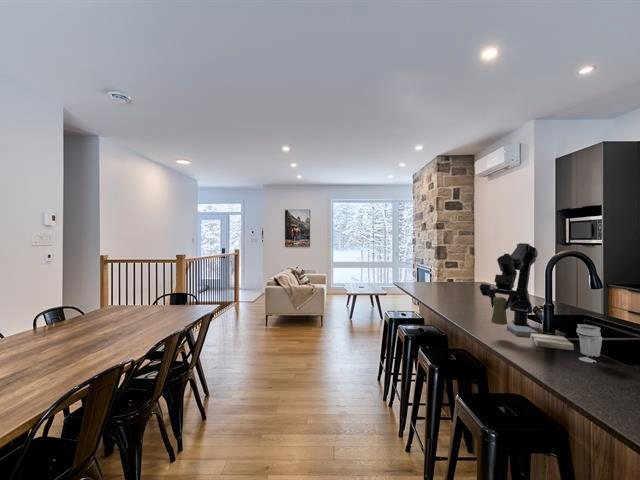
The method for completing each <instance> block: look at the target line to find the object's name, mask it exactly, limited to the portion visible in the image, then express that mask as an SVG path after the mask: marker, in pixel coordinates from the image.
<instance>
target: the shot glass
mask: <svg viewBox="0 0 640 480" xmlns="http://www.w3.org/2000/svg"><path fill="white" fill-rule="evenodd" d="M602 343H603V337H602V336H601V335H600V338H599V339H597V340H596V341H592V342H591V343H589V353H588V357H593V356H595V358H597V357H600V354H601V348H602ZM579 347H580V351H579V352H580V354H582V355H585V356H587V342H585V340H583V339H581V338H580V337H579Z"/></svg>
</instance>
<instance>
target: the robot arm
mask: <svg viewBox="0 0 640 480" xmlns="http://www.w3.org/2000/svg"><path fill="white" fill-rule="evenodd" d="M538 254H539V253H538V250H537V248H536V247H535V246H532V245H530V243H525V242H524V243H522V242H519V243H517V244H516V248H515V249H514V250H513V252H512V253H511V254H510V253H504V254H503V255H500V256H499V257H497V259H496V261H497V264H498V268H499V270H500V272H501V274H495V277H494V283H495V287H494V286H491V284H488V283H481V284H480V285H479V291H480V293H481V295H482V296H483V297H488V298H489V299H490V304H491V305H490V307H491V308H494V303H493V299H494V298H495V297H497V296H496V294H498V295H506V296H508V298H507V299H506V300H507V303H506V305H505V310H508V309H509V311H512V312H513V319H512V320H511V322H512V323H513V325H514V326H527V327H529V326H530V324H529V323H528V314H533V306H532V303H531V299H530V294H529V293H530V292H529V290H528V288H529V282H530V275H531V267H532V265H533V264H535V262H536V259H537V258H538V256H539V255H538ZM517 271H519V272H517ZM517 274H518V278H517ZM516 279H517V285H516V286H517V287H516V289H515V290H513V289H514V287H515V281H516Z"/></svg>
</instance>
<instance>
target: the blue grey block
mask: <svg viewBox="0 0 640 480" xmlns="http://www.w3.org/2000/svg"><path fill="white" fill-rule="evenodd" d="M506 331H507V332H509V333H511V334H513V335H514V336H516V337H530V333H535V334H539V332H538V330H537V331H536V330H535V329H533V328H531V327H529V326H526V325H506Z"/></svg>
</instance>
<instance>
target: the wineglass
mask: <svg viewBox="0 0 640 480" xmlns="http://www.w3.org/2000/svg"><path fill="white" fill-rule="evenodd" d="M601 329H602V328H601V327H599V326H596V325H591V324H586V323H585V324H583V323H578V324H577V328H576V334H577V336H578V337H579V339H580V338H581V339H583V340H585V342H587V355H586V357H582V356H581V357H578V359H579V360H580V361H582V362H586V363H593V362H595V363H597V360H595V359H594V358H589V356H588V353H589V343H591V342H592V341H596V340H597V339H599V338H600V336H601V333H602V332H601V331H600V330H601ZM593 364H594V363H593Z"/></svg>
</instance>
